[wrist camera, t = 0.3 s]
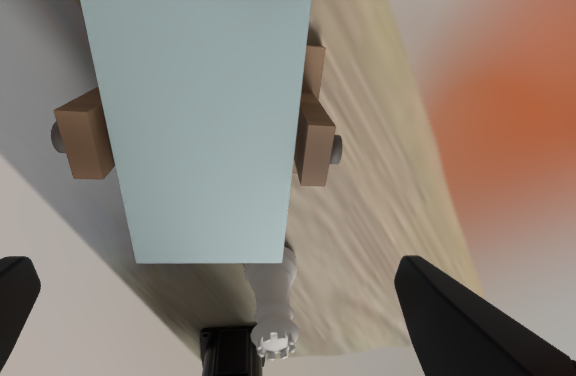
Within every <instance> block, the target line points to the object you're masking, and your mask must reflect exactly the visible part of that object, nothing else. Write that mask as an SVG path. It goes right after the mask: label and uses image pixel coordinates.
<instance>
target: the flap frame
mask: <svg viewBox="0 0 576 376" xmlns="http://www.w3.org/2000/svg"><path fill="white" fill-rule="evenodd" d="M325 50H326V48H325V47H323V46H318V45H308V44H306V53H305V62H304V71H303V80H302V89H301V98H300V107H299V116H298V125H297V134H296V143H295V152H294V161H293V170H292V173H297V174H298V177H299V181H300V185H301V186H325V185H326V180H327V174H328V168H329V164H339V162H340V159H341V155H342V139H341V136H340V135H335V129H336V126H335V125H334V123H333V122H332V120H331V119H330V117H329V116H328V114H327V113H326V111H325V110H324V108H323V107H322V105H321V104H320V102H319V101H318V99H319V92H320V85H321V78H322V71H323V64H324V57H325ZM54 114H55V117H56V122H55V123H54V125H53V127H52V130H51V140H52V144H53V146H54V148H55V149H56V150H57V151H58V152H60V153H66V154H67V158H68V161H69V164H70V168H71V171H72V175H73V178H74V179H104V178H105V177H106V176H107V175H108V173H109V172H110V171H111V170H112V169H113V168H114V166H115V161H114V157H113V152H112V147H111V143H110V138H109V133H108V129H107V124H106V119H105V115H104V110H103V105H102V100H101V96H100V91H99V87H97V88H95V89H93V90H91V91H89V92H87V93H85V94H84V95H82V96H80V97H78V98H76V99H74V100H72V101H70V102H68V103H66V104H65V105H63V106H61V107H59V108H57V109H55V110H54Z"/></svg>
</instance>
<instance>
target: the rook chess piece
mask: <svg viewBox="0 0 576 376" xmlns="http://www.w3.org/2000/svg"><path fill="white" fill-rule="evenodd" d="M244 267H245V271H244V272H245V276H246V280H247V282H248V284H249V285H250V286H251V289H252V290H253V291H254V293H255V297H256V303H257V310H256V311H255V314H254V319H255V321H256V322H257V325H256V326H255V328H254V329H253V330H252V333H251V335H250V336H251V340H252V342H253V343H254V344H255V345H256V350H257V354H258V355H259V356H260V357H261V358H262V357H263V356H265V353H267V360H275V354H276V353H280V355H281V359H284V358H287V357H289V356H288V350H289V352H291V353H294V351H295V349H296V346H295V342H296V341H297V339H298V337H299V335H300V333H299V328H298V327H297V326H296V325H295V324H294V323H293V322H292V321H291V320H292V318H293V316H294V313H293V309H292V308H291V307H290V304H289V302H290V288H291V286H292V284H293V282H294V279H295V277H296V274H297V267H296V256H295V255H294V254H293V252H292V251H291V250H290V249H288V248H287V247H285V246H284V250H283V259H282V263H244Z"/></svg>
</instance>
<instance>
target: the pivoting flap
mask: <svg viewBox="0 0 576 376" xmlns="http://www.w3.org/2000/svg"><path fill="white" fill-rule="evenodd" d="M80 2H81V7H82V11H83V16H84V21H85V25H86V30H87V35H88V39H89V44H90V49H91V54H92V58H93V63H94V68H95V72H96V77H97V82H98V86H99V91H100V96H101V100H102V105H103V110H104V115H105V119H106V124H107V129H108V133H109V138H110V143H111V147H112V152H113V157H114V161H115V166H116V171H117V176H118V180H119V185H120V190H121V194H122V199H123V204H124V208H125V213H126V218H127V223H128V227H129V232H130V237H131V241H132V246H133V251H134V255H135V260H136V263H282V259H283V250H284V241H285V233H286V224H287V215H288V206H289V197H290V188H291V179H292V170H293V161H294V152H295V143H296V134H297V125H298V116H299V107H300V98H301V89H302V80H303V71H304V62H305V53H306V44H307V35H308V26H309V17H310V8H311V0H80Z"/></svg>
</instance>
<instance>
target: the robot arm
mask: <svg viewBox="0 0 576 376" xmlns="http://www.w3.org/2000/svg"><path fill="white" fill-rule="evenodd" d="M394 284H395V289H396V292H397V296H398V299H399V302H400V306H401V309H402V312H403V316H404V319H405V322H406V326H407V329H408V332H409V335H410V338H411V341H412V344H413V347H414V349H415V352H416V354H417V357H418V359H419V362H420V364H421V366H422V369H423V371H424V374H425V376H576V361H575V360H571V359H570V357H569V356H567V355H566V354H564V353H563V352H561V351H560V350H559V349H557V348H556V347H554V346H553V345H551V344H550V343H548V342H546V341H545V340H543V339H542V338H540V337H539V336H538V335H536V334H535V333H533V332H532V331H530V330H529V329H527V328H526V327H524V326H523V325H521V324H520V323H518V322H517V321H515V320H514V319H512V318H511V317H510V316H508V315H506V314H505V313H503V312H502V311H500V310H499V309H498V308H496V307H495V306H493V305H492V304H490V303H489V302H487V301H486V300H484V299H483V298H481V297H480V296H478V295H477V294H475V293H474V292H472V291H471V290H469V289H468V288H466V287H465V286H463V285H462V284H461V283H459V282H458V281H456V280H455V279H453V278H452V277H450V276H449V275H447V274H446V273H444V272H443V271H441V270H440V269H438V268H437V267H435V266H434V265H432V264H431V263H429V262H428V261H426V260H425V259H423V258H422V257H420V256H416V255H406V256H403V257H402V259H401V261H400V264H399V267H398V270H397V273H396V275H395V280H394ZM40 287H41V283H40V280H39V278H38V275H37V273H36V270H35V268H34V265H33V263H32V261H31V259H29V258H28V257H25V256H9V257H4V258H2V259H0V372H1V370H2V368H3V366H4V365H5V363H6V361H7V359H8V358H9V356H10V354H11V352H12V350H13V348H14V346H15V344H16V342H17V339H18V337H19V335H20V333H21V330H22V329H23V327H24V325H25V322H26V320H27V318H28V316H29V314H30V312H31V310H32V308H33V305H34V303H35V301H36V299H37V297H38V294H39V292H40V289H41V288H40ZM254 328H255V327H238V328H205V329H202V330H201V332H200V342H201V354H202V365H203V373H202V376H262V367H263V366H264V362H265V356H263V357H262V358H261V357H260V356H259V355H258V354H257V350H256V345H255V344H254V343H253V342H252V340H251V336H250V335H251V333H252V330H253V329H254Z"/></svg>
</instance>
